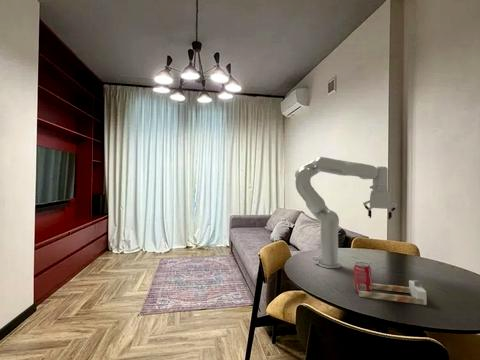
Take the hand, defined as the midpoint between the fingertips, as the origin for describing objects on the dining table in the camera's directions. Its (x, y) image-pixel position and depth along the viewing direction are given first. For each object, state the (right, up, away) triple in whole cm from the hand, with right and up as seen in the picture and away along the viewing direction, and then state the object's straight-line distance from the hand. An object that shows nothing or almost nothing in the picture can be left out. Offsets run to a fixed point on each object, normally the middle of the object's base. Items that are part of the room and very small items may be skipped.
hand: (379, 218), depth 150 cm
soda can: (-26, -27, -35) cm, 51 cm away
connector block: (-7, -27, -42) cm, 50 cm away
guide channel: (-17, -27, -38) cm, 50 cm away
